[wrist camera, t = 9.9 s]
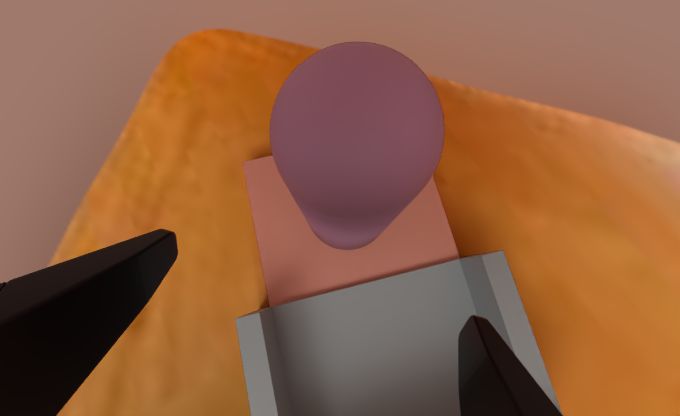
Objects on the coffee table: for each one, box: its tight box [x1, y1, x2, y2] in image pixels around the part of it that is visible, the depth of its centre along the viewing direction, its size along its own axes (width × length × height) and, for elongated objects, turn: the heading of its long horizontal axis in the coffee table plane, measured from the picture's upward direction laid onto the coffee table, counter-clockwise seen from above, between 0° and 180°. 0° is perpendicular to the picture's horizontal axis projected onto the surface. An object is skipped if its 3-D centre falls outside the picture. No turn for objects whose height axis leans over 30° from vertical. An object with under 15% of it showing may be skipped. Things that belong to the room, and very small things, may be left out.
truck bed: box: [235, 155, 563, 416], centre depth 16 cm, size 14×20×7 cm
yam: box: [270, 42, 444, 250], centre depth 13 cm, size 5×5×13 cm
